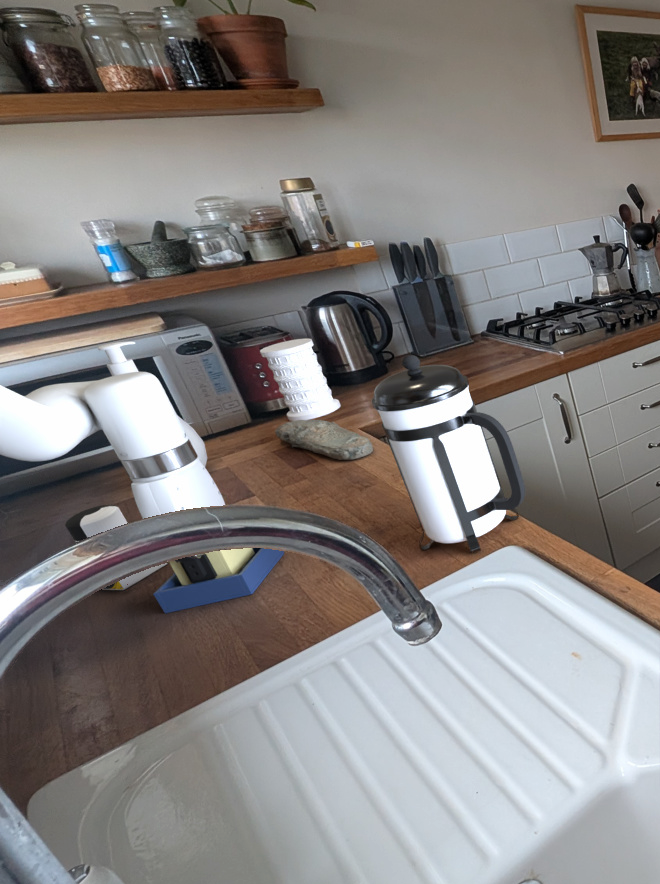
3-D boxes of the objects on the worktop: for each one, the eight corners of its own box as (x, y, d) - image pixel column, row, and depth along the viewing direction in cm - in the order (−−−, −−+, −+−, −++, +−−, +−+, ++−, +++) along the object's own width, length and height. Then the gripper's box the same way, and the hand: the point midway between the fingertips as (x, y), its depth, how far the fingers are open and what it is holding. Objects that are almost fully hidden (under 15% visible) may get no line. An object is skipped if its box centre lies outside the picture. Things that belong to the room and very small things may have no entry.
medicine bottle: (87, 590, 105) (44, 524, 100) (134, 562, 111) (96, 500, 106) (123, 591, 104) (82, 524, 99) (169, 563, 110) (132, 499, 105)
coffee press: (418, 575, 99) (340, 384, 86) (422, 526, 112) (355, 354, 100) (540, 537, 105) (484, 353, 93) (530, 495, 118) (480, 329, 106)
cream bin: (183, 588, 98) (167, 559, 96) (207, 563, 104) (192, 535, 102) (234, 577, 100) (219, 549, 98) (255, 553, 105) (241, 526, 103)
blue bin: (165, 613, 97) (153, 594, 95) (206, 569, 107) (196, 551, 105) (252, 594, 99) (241, 574, 97) (284, 553, 109) (275, 534, 108)
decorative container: (332, 415, 170) (303, 346, 163) (280, 424, 167) (249, 355, 160) (346, 400, 180) (320, 335, 173) (298, 408, 178) (269, 343, 170)
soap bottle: (230, 470, 144) (163, 337, 132) (164, 496, 135) (86, 356, 123) (195, 459, 152) (129, 333, 140) (131, 483, 143) (55, 351, 131)
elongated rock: (341, 474, 139) (390, 456, 146) (333, 451, 136) (383, 433, 144) (265, 440, 156) (312, 425, 164) (258, 419, 154) (305, 405, 162)
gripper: (166, 441, 101) (219, 541, 109) (87, 494, 86) (155, 607, 93) (223, 431, 103) (271, 531, 110) (155, 482, 87) (216, 594, 95)
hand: (217, 565), depth 101 cm, fingers closed on cream bin, 6 cm apart
